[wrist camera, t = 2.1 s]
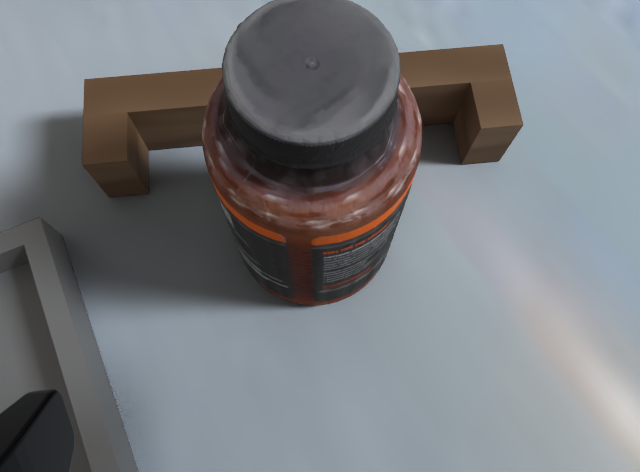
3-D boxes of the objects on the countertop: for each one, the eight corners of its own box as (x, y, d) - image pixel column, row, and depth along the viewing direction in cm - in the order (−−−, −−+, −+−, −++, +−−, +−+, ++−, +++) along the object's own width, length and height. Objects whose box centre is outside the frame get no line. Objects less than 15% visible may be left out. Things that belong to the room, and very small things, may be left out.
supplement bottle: (415, 215, 24) (498, 30, 13) (337, 339, 22) (361, 243, 11) (292, 144, 25) (276, -81, 14) (209, 257, 23) (119, 99, 12)
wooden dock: (499, 161, 25) (523, 124, 22) (109, 197, 24) (82, 164, 21) (482, 87, 26) (503, 44, 23) (110, 120, 25) (84, 79, 22)
